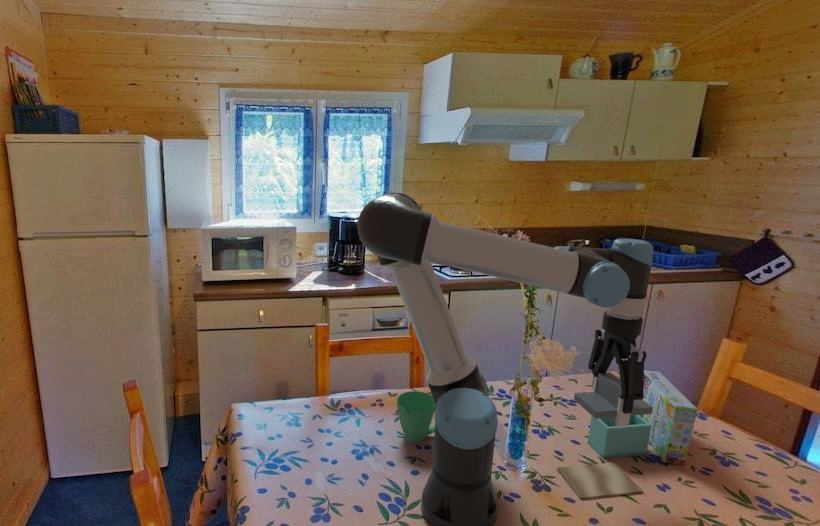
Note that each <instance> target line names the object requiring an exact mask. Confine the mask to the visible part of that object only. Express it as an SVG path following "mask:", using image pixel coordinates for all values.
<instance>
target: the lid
mask: <svg viewBox="0 0 820 526" xmlns="http://www.w3.org/2000/svg"><path fill="white" fill-rule="evenodd" d="M628 392H629V391H628ZM619 396H622V389H621V381H620V377H617V376H616V375H615V374H613V373H612V372H611V371H610V372H606V373H598V379H597V386H596V392H592V391H590V392H589V391H587V392H577V393H576V392H575V393H574V397H573V400H574V402H576V403H577V404H578V405H579V406H580V407H582V408H583V409H584V410H585V411H586V412H588V413H589V415H591V417H592V416H593V417H594V418H595V419H597V418H609V417H616V413H617V406H618V399H619ZM652 411H653V407H652V406H651V405H649V404H648V403H646V402H645V401H643V400H634V403H633V410H632V413H630V416H632V415H644V414H652Z"/></svg>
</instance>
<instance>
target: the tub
mask: <svg viewBox="0 0 820 526" xmlns="http://www.w3.org/2000/svg"><path fill="white" fill-rule="evenodd" d="M615 420H616V417H609V418H597V419H595V418H594V417H593V416H592V415H591V418H590V423H589V433H588V438H587V444H588V445H589V446H590V448H592V449H593V450H594V451H595V452H596V453H597V454H598V456H600V457H601V459H614V458H623V457H624V458H625V457H635V456H646V455H647V452H648V447H649V443H650V441H649V436H650V430H651V425H650V424H649V423H648V422H647V421H645V420H644V419H643V418H641V417H640V416H639V415H632V416H630V419H629V426H616V425H615Z"/></svg>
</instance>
